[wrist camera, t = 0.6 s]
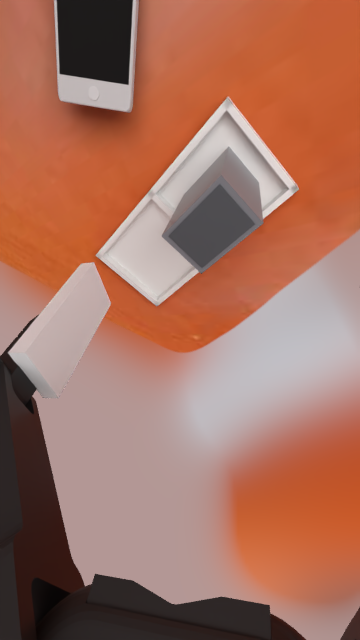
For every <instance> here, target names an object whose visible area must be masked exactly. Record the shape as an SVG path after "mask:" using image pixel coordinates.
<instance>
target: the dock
mask: <svg viewBox="0 0 360 640" xmlns="http://www.w3.org/2000/svg"><path fill="white" fill-rule="evenodd" d="M298 190H299V188H298V186H297V184H296V183H295V181H294V180H293V179H292V178H291V176H290V175H289V174H288V172H287V171H286V170H285V169H284V167H283V166H282V165H281V163H280V162H279V161H278V160H277V158H276V157H275V156H274V154H273V153H272V152H271V151H270V149H269V148H268V147H267V145H266V144H265V143H264V141H263V140H262V139H261V138H260V136H259V135H258V134H257V132H256V131H255V130H254V129H253V127H252V126H251V125H250V123H249V122H248V121H247V120H246V118H245V117H244V116H243V114H242V113H241V112H240V111H239V109H238V108H237V107H236V105H235V104H234V103H233V102H232V100H231V99H230V98H229V96H228V97H227V98H226V99H225V101H224V102H223V103H222V104H221V105H220V107H219V108H218V109H217V110H216V111H215V113H214V114H213V115H212V116H211V117H210V119H209V120H208V121H207V122H206V123H205V125H204V126H203V127H202V128H201V129H200V131H199V132H198V133H197V134H196V135H195V137H194V138H193V139H192V140H191V141H190V143H189V144H188V145H187V146H186V147H185V149H184V150H183V151H182V152H181V153H180V155H179V156H178V157H177V158H176V159H175V161H174V162H173V163H172V164H171V165H170V167H169V168H168V169H167V170H166V171H165V173H164V174H163V175H162V176H161V177H160V179H159V180H158V181H157V182H156V183H155V185H154V186H153V187H152V188H151V189H150V191H149V192H148V193H147V194H146V195H145V197H144V198H143V199H142V200H141V201H140V203H139V204H138V205H137V206H136V207H135V209H134V210H133V211H132V212H131V213H130V215H129V216H128V217H127V218H126V219H125V221H124V222H123V223H122V224H121V225H120V227H119V228H118V229H117V230H116V231H115V233H114V234H113V235H112V236H111V237H110V239H109V240H108V241H107V242H106V243H105V245H104V246H103V247H102V248H101V249H100V251H99V252H98V253H97V254H96V256H97V257H98V258H99V259H100V260H102V261H103V262H104V263H105V264H106V265H108V266H109V267H110V268H111V269H112V270H114V271H115V272H116V273H117V274H118V275H120V276H121V277H122V278H123V279H124V280H126V281H127V282H128V283H129V284H130V285H132V286H133V287H134V288H135V289H136V290H138V291H139V292H140V293H141V294H142V295H144V296H145V297H146V298H147V299H149V300H150V301H151V302H152V303H153V304H155V305H156V306H158V305H159V304H161V303H162V302H163V301H164V300H165V299H167V298H168V297H169V296H170V295H172V294H173V293H174V292H175V291H176V290H178V289H179V288H180V287H181V286H182V285H184V284H185V283H186V282H187V281H189V280H190V279H191V278H192V277H193V276H195V275H196V274H197V273H198V272H200V273H201V274H202V273H203V272H204V271H205V270H207V269H208V268H209V267H210V266H211V265H213V264H214V263H215V262H216V261H218V260H219V259H220V258H221V257H222V256H224V255H225V254H226V253H227V252H229V251H230V250H231V249H232V248H234V247H235V246H236V245H237V244H238V243H240V242H241V241H242V240H243V239H245V238H246V237H247V236H248V235H250V234H251V233H252V232H253V231H254V230H256V229H257V228H258V227H259V226H261V225H262V224H263V219H264V218H265V217H266V216H267V215H269V214H270V213H271V212H272V211H273V210H275V209H276V208H277V207H278V206H279V205H281V204H282V203H283V202H284V201H286V200H287V199H288V198H289V197H290V196H292V195H293V194H294V193H295V192H296V191H298Z"/></svg>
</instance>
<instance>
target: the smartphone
mask: <svg viewBox="0 0 360 640" xmlns="http://www.w3.org/2000/svg"><path fill="white" fill-rule="evenodd" d="M138 7H139V0H54V12H55V35H56V58H57V81H58V95H59V99H60V100H61V101H63V102H67V103H73V104H79V105H85V106H91V107H97V108H103V109H109V110H115V111H121V112H127V113H130V112H131V111H132V108H133V94H134V76H135V59H136V42H137V24H138Z"/></svg>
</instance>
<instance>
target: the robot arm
mask: <svg viewBox="0 0 360 640" xmlns="http://www.w3.org/2000/svg"><path fill="white" fill-rule="evenodd" d="M110 305H111V302H110V300H109V297H108V295H107V292H106V290H105V288H104V285H103V283H102V280H101V278H100V276H99V273H98V271H97V269H96V266H95V264H94V262H92V263H83V264H80V266H79V267H78V268H77V269H76V271H75V272H74V273H73V274H72V275H71V277H70V278H69V279H68V280H67V281H66V283H65V284H64V285H63V286H62V288H61V289H60V290H59V291H58V292H57V294H56V295H55V296H54V297H53V299H52V300H51V301H50V302H49V303H48V305H47V306H46V307H45V308H44V309H43V311H42V312H41V313H40V314H39V315H38V316H36V317H35V318H34V319H32V320H31V321H30V322H29V323H28V324H27V325H26V326H25V328H24V329H23V331H21V332H20V333H19V335H18V337H16V338H15V340H14V341H13V342H12V343H11V344H10V345H9V347H8V348H7V349H6V350H5V351H4V353H3V354H2V355H1V356H0V640H306V639H305V638H304V637H302V635H301V634H299V633H298V632H297V631H296V630H295V629H294V628H292V627H291V626H290V625H288V624H287V623H286V622H284V621H283V620H282V619H280V618H278V617H276V616H274V615H272V614H270V606H269V605H264V604H259V603H254V602H248V601H243V600H237V599H232V598H226V597H218V598H212V599H207V600H201V601H195V602H190V603H184V604H177V605H175V604H171V603H169V602H167V601H166V600H164V599H162V598H161V597H159V596H157V595H156V594H154V593H153V592H151V591H149V590H147V589H146V588H144V587H143V586H141V585H139V584H138V583H136V582H134V581H132V580H126V579H120V578H114V577H109V576H103V575H98V574H95V576H94V579H93V582H92V584H91V585H88V586H85V585H84V582H83V580H82V577H81V575H80V573H79V571H78V569H77V568H76V566H75V564H74V562H73V560H72V557H71V553H70V549H69V545H68V540H67V536H66V532H65V527H64V523H63V518H62V515H61V510H60V505H59V501H58V497H57V492H56V488H55V483H54V479H53V474H52V470H51V466H50V461H49V457H48V453H47V448H46V444H45V439H44V435H43V430H42V426H41V422H40V417H39V413H38V408H37V404H36V401H35V399H34V398H33V397H32V395H33V394H34V392H35V391H36V389H37V391H38V392H39V393H40V394H41V396H42V397H43V398H59V397H60V395H61V393H62V392H63V390H64V388H65V386H66V384H67V383H68V381H69V379H70V377H71V375H72V374H73V372H74V370H75V368H76V366H77V364H78V363H79V361H80V359H81V357H82V356H83V354H84V352H85V350H86V348H87V347H88V345H89V343H90V341H91V339H92V337H93V336H94V334H95V332H96V330H97V328H98V327H99V325H100V323H101V321H102V319H103V318H104V316H105V314H106V312H107V310H108V309H109V307H110ZM341 640H360V608H359V609H358V611H357V613H356V614H355V616H354V618H353V619H352V620H351V622H350V623H349V625H348V627H347V629H346V630H345V632H344V634H343V636H342V637H341Z"/></svg>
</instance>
